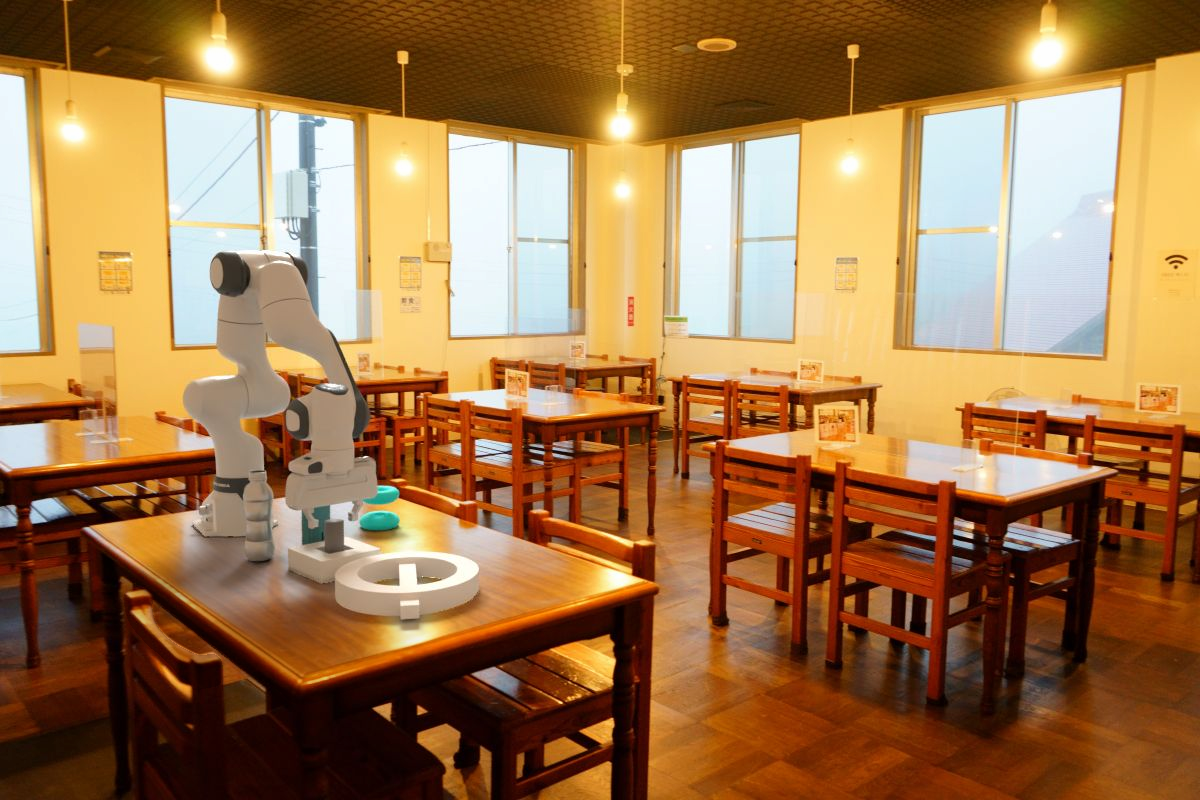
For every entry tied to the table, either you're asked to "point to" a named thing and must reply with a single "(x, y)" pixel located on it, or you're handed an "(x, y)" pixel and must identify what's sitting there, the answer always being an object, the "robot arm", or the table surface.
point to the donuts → (381, 518)
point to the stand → (326, 558)
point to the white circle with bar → (406, 583)
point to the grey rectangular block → (334, 535)
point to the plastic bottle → (258, 518)
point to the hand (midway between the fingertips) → (333, 524)
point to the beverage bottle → (316, 533)
